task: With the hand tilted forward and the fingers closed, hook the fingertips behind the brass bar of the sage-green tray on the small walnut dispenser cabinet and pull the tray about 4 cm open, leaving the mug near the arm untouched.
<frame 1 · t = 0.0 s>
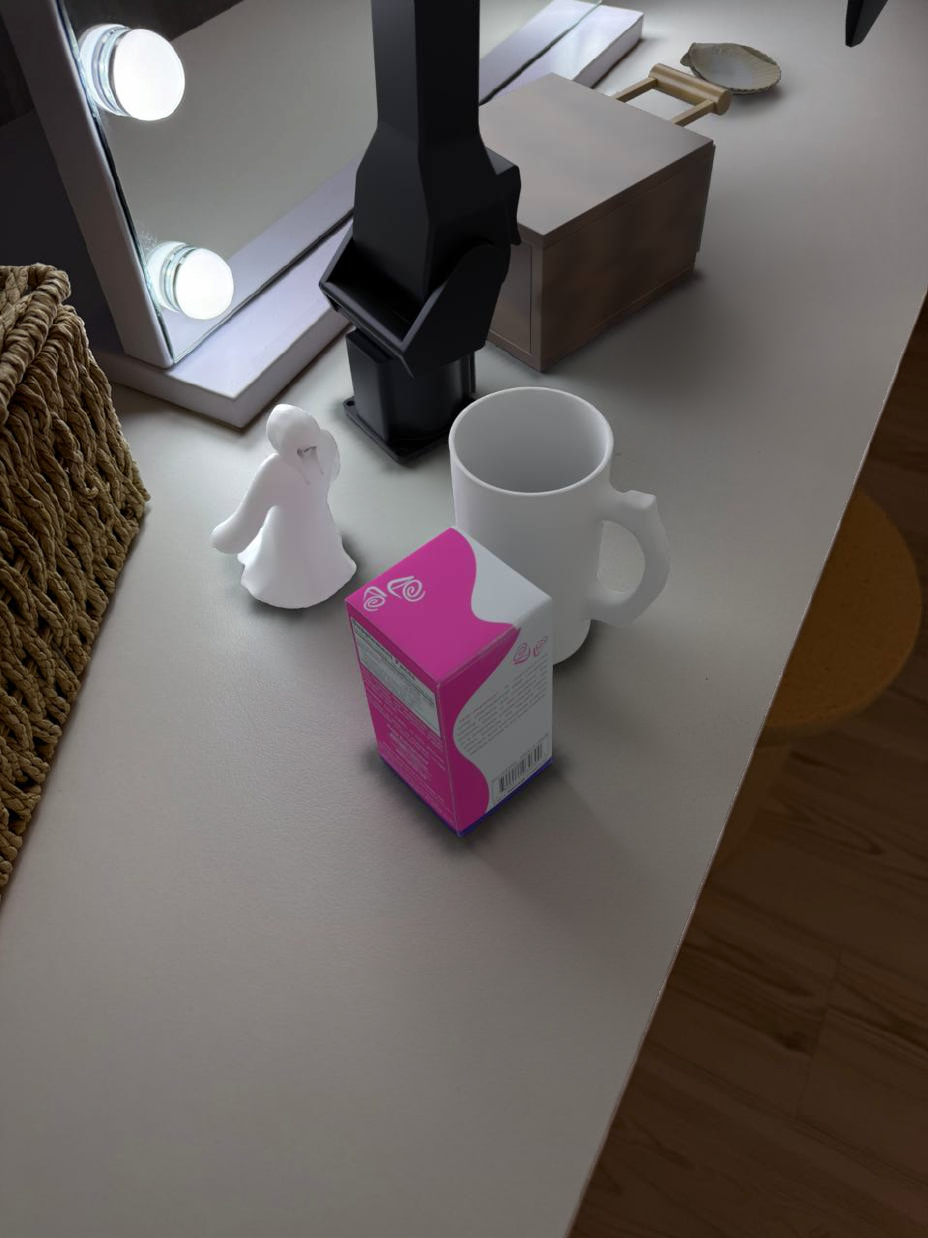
hand: (791, 19, 60), 15 cm above the table, tool pointing down, fingers open, 9 cm apart
cabinet: (544, 279, 70), on the table
figurine: (295, 569, 55), on the table
seashell: (728, 88, 87), on the table
drawer: (596, 184, 68), point 5 cm above the table, slide at 0.0 cm, touching cabinet
mug: (556, 635, 51), on the table
supplement box: (463, 762, 47), on the table
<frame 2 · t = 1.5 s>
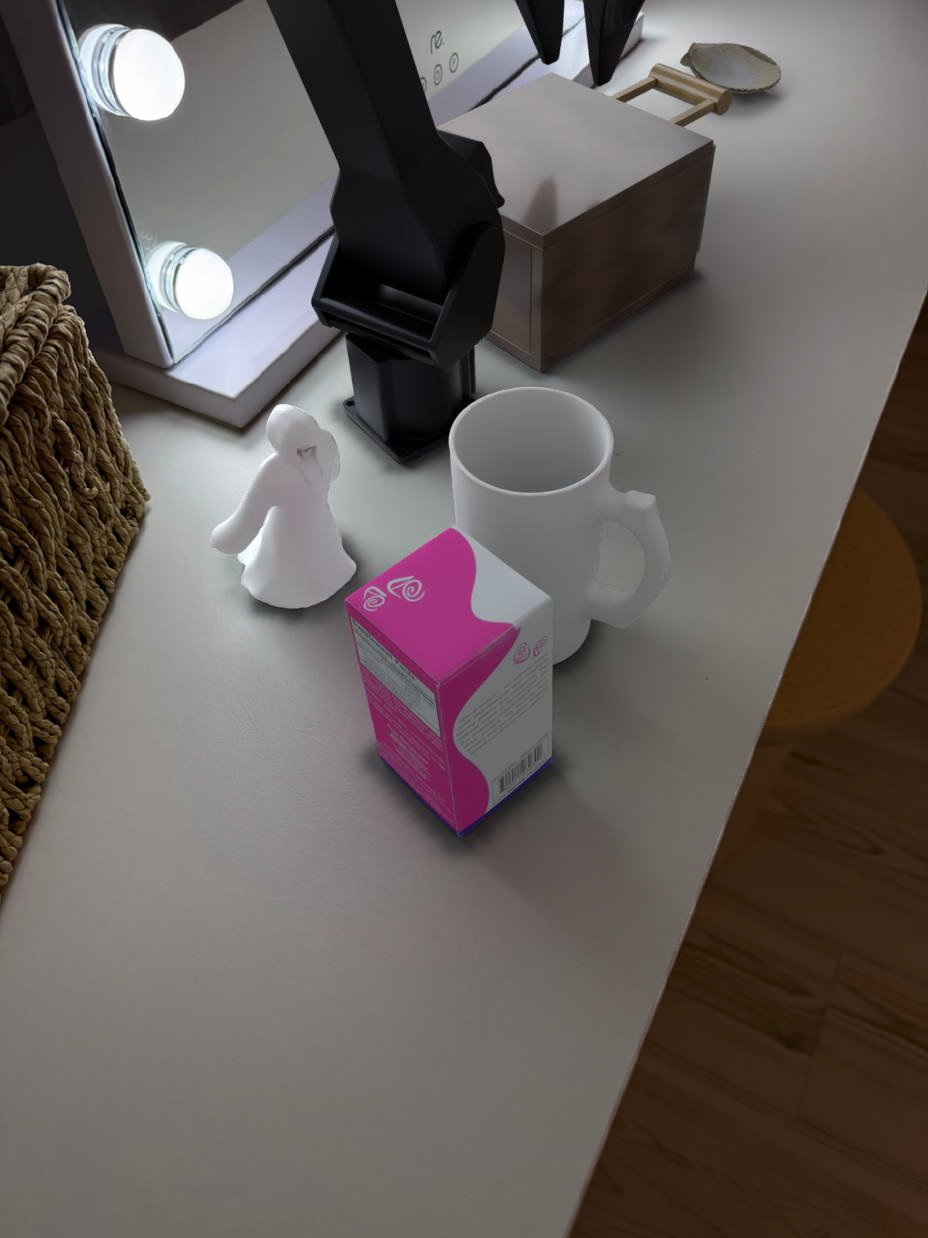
hand: (576, 72, 61), 13 cm above the table, tool pointing down, fingers open, 4 cm apart
nothing on the table moved.
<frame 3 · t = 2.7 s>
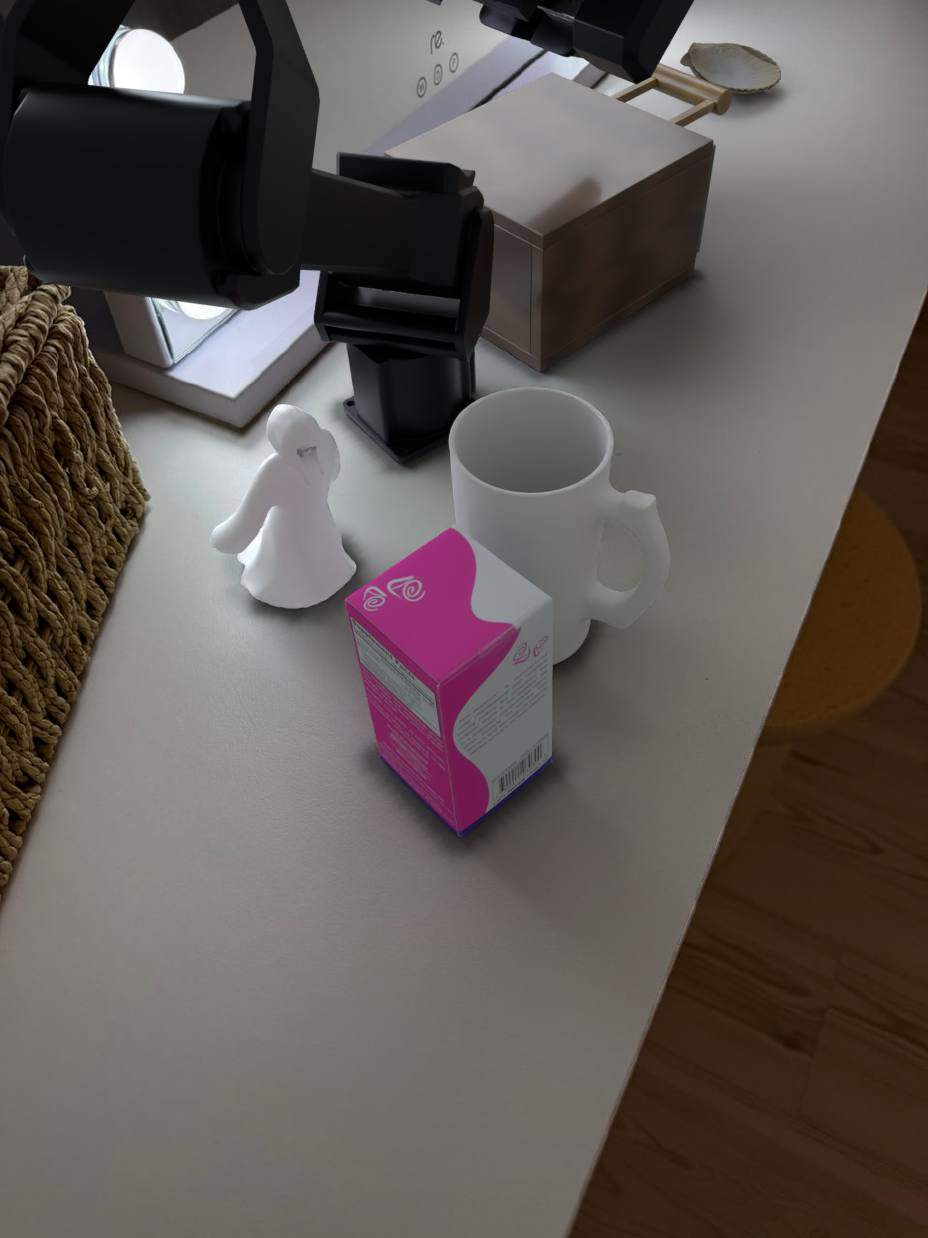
hand: (603, 52, 62), 13 cm above the table, tool tilted 45°, fingers closed
nothing on the table moved.
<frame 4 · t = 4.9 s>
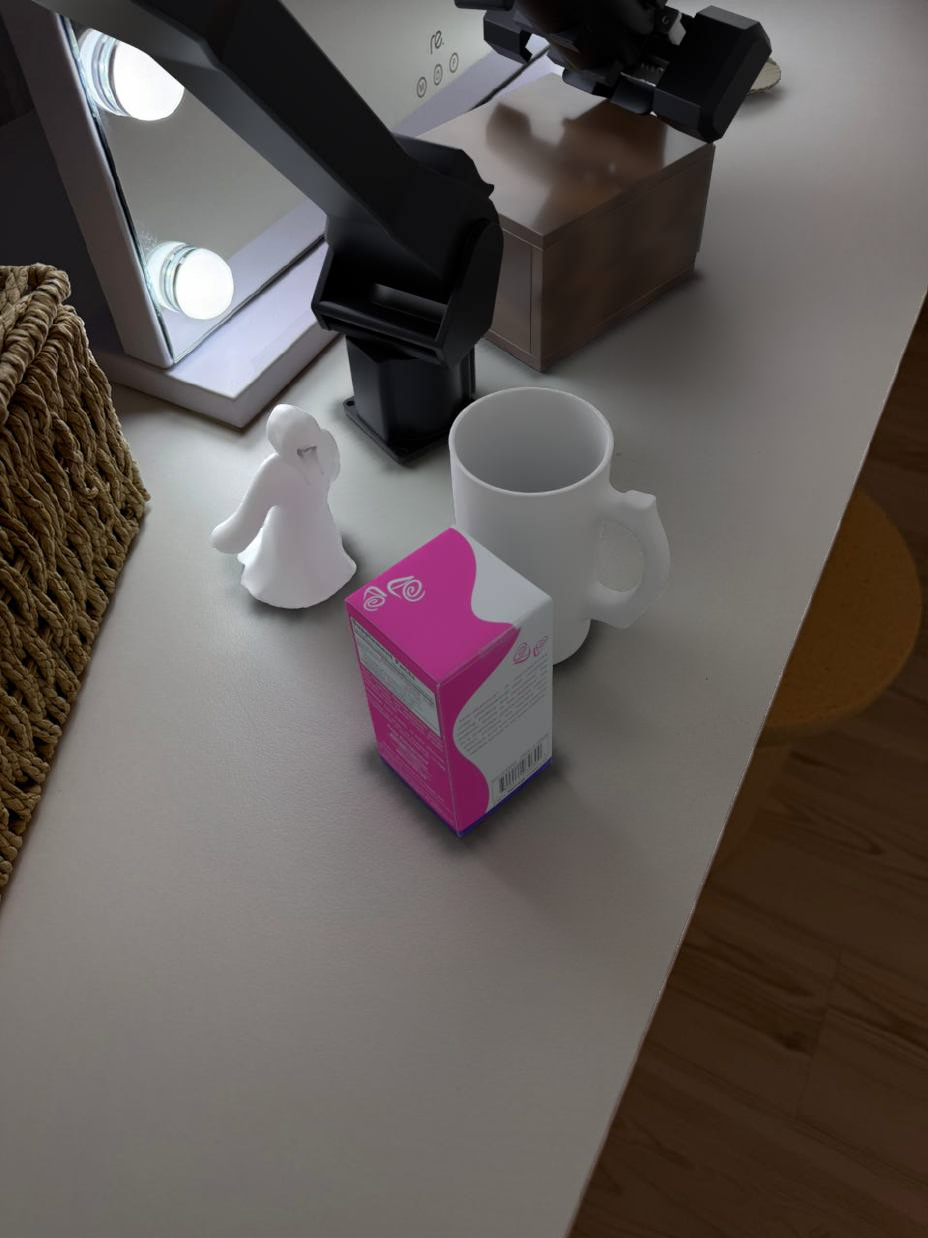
hand: (669, 102, 69), 8 cm above the table, tool tilted 45°, fingers closed, pressing on cabinet
nothing on the table moved.
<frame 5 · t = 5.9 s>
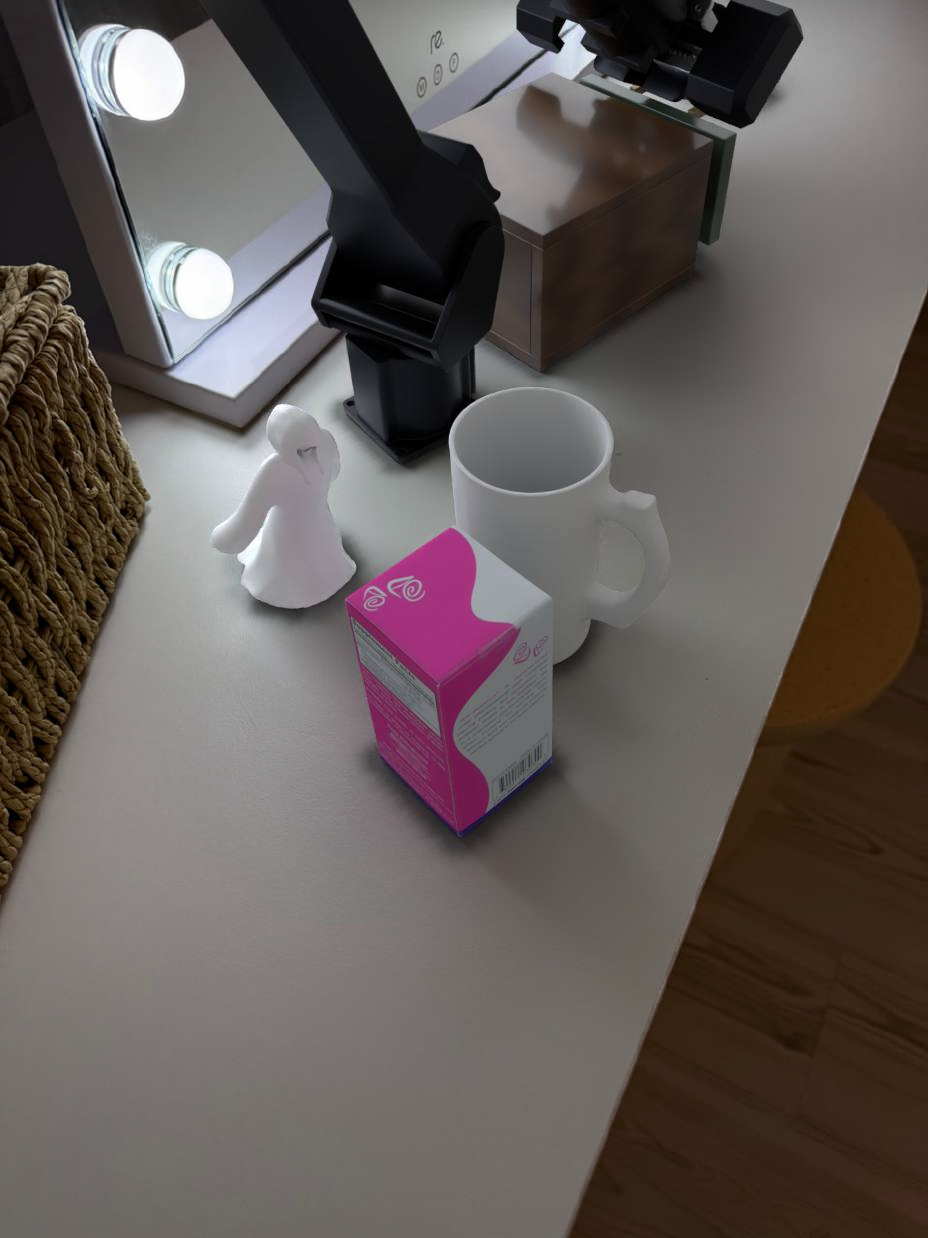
hand: (697, 91, 70), 8 cm above the table, tool tilted 45°, fingers closed, pressing on drawer
drawer: (617, 172, 69), point 5 cm above the table, slide at 2.1 cm, touching gripper
everything else where it was.
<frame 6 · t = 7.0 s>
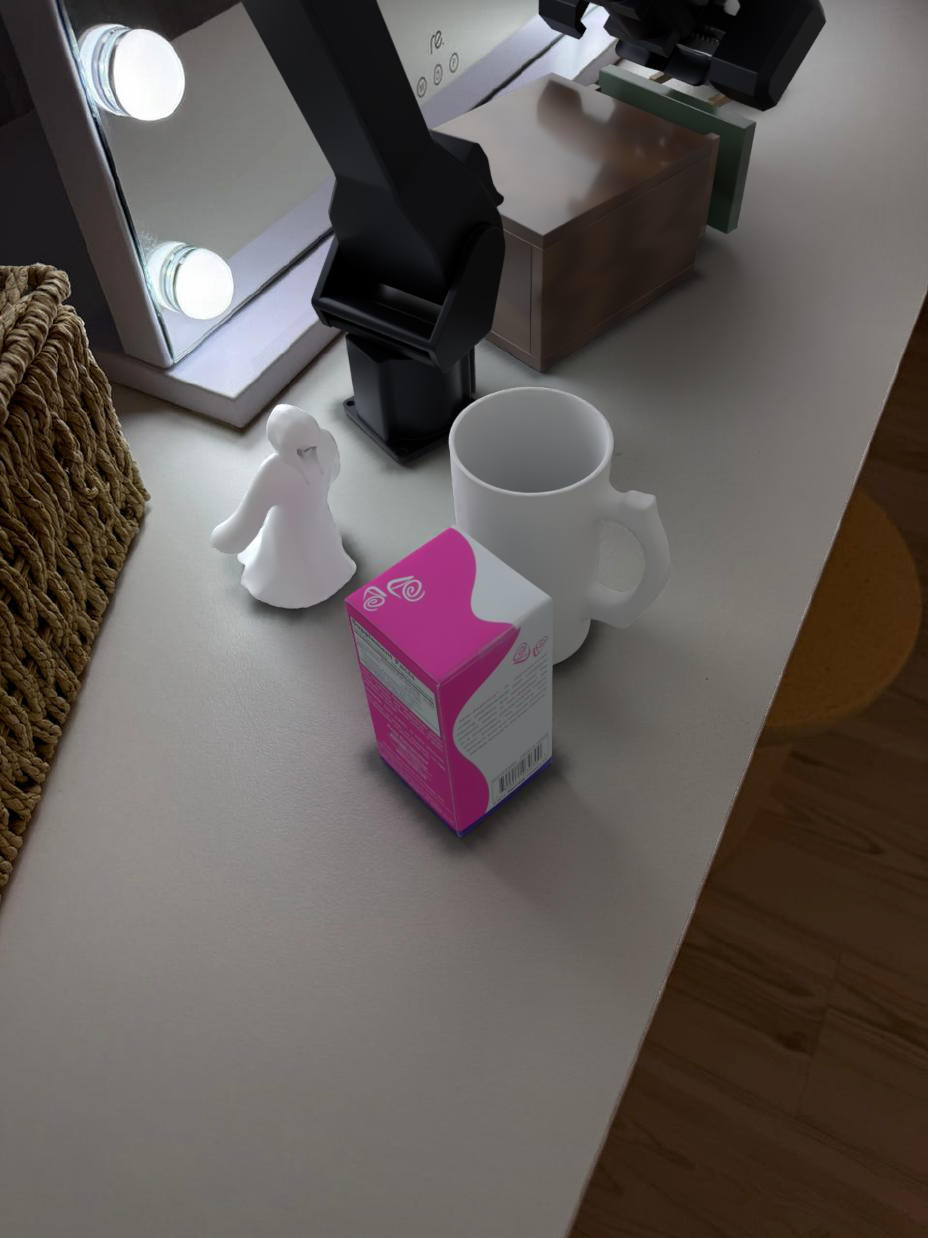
hand: (716, 78, 71), 8 cm above the table, tool tilted 45°, fingers closed
drawer: (637, 161, 70), point 5 cm above the table, slide at 4.1 cm
everything else where it was.
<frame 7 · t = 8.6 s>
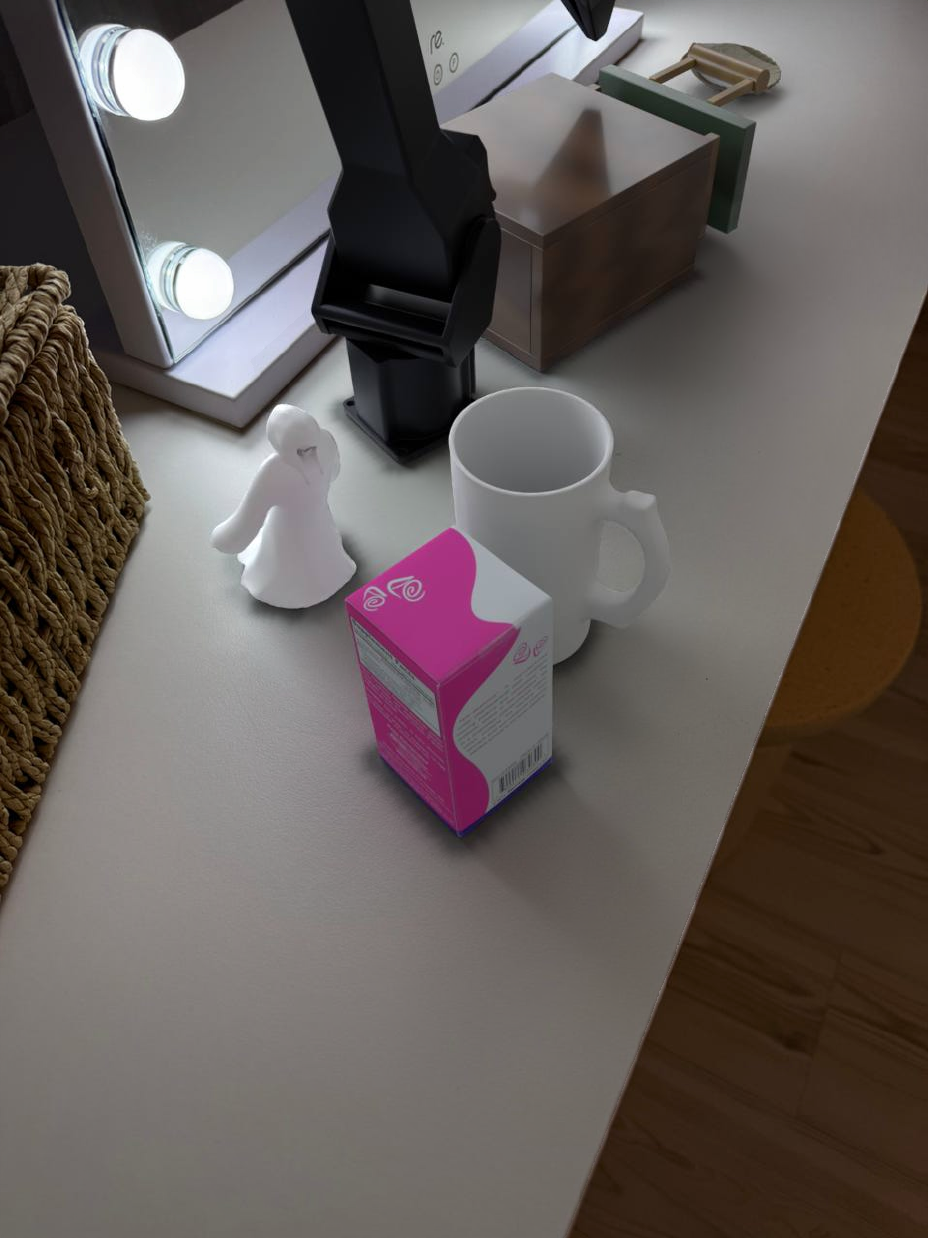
hand: (596, 35, 67), 12 cm above the table, tool tilted 15°, fingers closed
nothing on the table moved.
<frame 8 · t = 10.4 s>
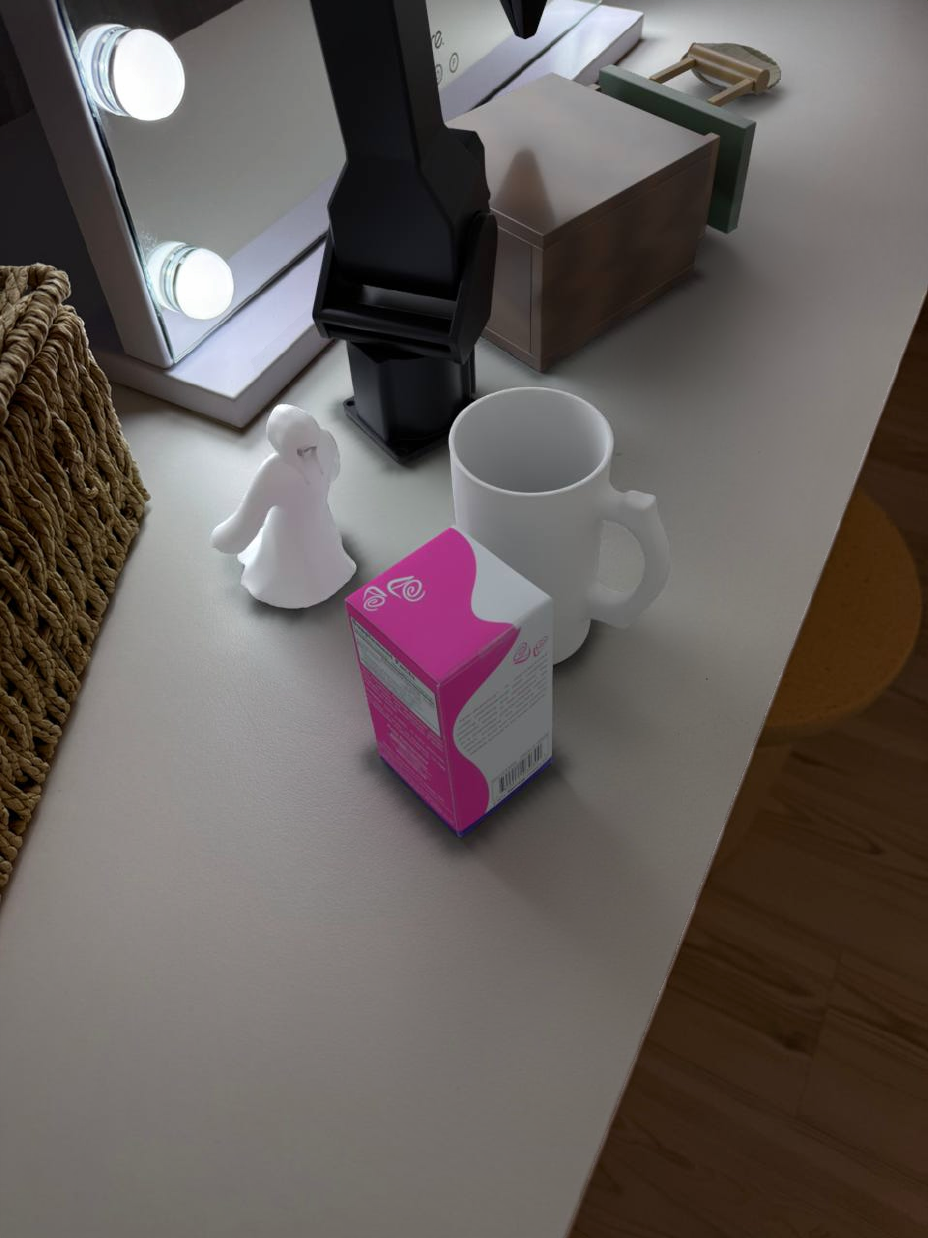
hand: (525, 35, 64), 13 cm above the table, tool pointing down, fingers closed
nothing on the table moved.
at the end: drawer slide at 4.1 cm; mug moved 0.2 cm from its start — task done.
